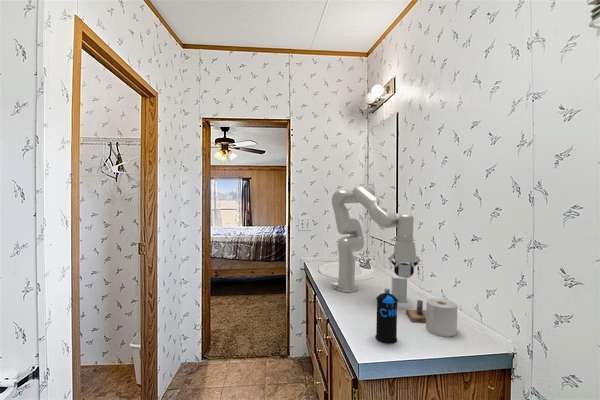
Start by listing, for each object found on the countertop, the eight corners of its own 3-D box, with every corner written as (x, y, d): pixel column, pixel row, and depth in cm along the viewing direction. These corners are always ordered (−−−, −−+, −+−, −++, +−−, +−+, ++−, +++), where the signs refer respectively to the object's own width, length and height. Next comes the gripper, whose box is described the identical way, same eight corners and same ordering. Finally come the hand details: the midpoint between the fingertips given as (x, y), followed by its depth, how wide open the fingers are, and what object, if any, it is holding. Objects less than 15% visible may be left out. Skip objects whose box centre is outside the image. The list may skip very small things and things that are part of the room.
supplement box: (406, 302, 162) (407, 278, 162) (392, 301, 163) (392, 277, 163) (405, 297, 169) (405, 275, 169) (391, 296, 171) (391, 274, 170)
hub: (398, 277, 150) (399, 265, 150) (395, 274, 157) (396, 262, 156) (412, 278, 150) (412, 265, 150) (408, 274, 156) (408, 262, 156)
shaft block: (411, 322, 136) (412, 304, 136) (405, 313, 146) (405, 297, 146) (434, 323, 136) (435, 305, 136) (426, 314, 146) (427, 297, 146)
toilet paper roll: (445, 323, 136) (446, 297, 135) (463, 336, 124) (464, 307, 124) (420, 324, 134) (420, 298, 134) (436, 337, 122) (436, 308, 122)
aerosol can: (372, 334, 124) (373, 285, 124) (392, 333, 125) (393, 285, 124) (379, 344, 116) (380, 291, 116) (400, 343, 117) (401, 291, 116)
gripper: (389, 239, 150) (388, 275, 150) (425, 240, 148) (424, 277, 149) (385, 237, 157) (384, 271, 157) (420, 238, 156) (419, 273, 156)
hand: (403, 274), depth 153 cm, fingers closed on hub, 6 cm apart
